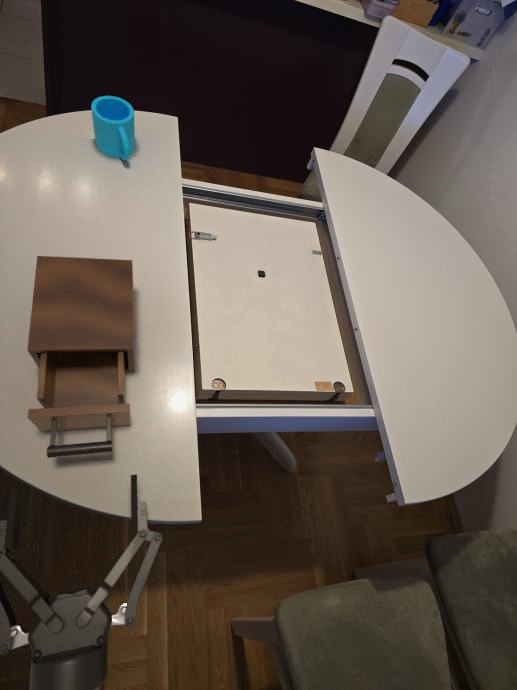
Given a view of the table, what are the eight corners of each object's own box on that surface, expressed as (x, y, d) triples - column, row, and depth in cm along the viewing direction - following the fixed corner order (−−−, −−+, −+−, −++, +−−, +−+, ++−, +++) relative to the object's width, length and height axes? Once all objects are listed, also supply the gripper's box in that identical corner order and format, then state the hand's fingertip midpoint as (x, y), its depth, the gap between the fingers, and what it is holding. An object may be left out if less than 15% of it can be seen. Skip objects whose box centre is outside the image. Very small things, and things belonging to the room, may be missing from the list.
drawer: (131, 457, 59) (129, 447, 52) (38, 466, 55) (23, 457, 49) (130, 340, 67) (128, 319, 60) (48, 341, 63) (37, 318, 56)
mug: (89, 133, 85) (85, 97, 78) (126, 129, 88) (125, 94, 81) (109, 173, 82) (106, 139, 75) (147, 167, 85) (147, 134, 78)
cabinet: (134, 372, 66) (133, 348, 57) (43, 375, 62) (27, 350, 53) (133, 292, 72) (132, 260, 63) (50, 290, 68) (37, 255, 59)
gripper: (-56, 712, 41) (-26, 497, 49) (184, 652, 48) (175, 474, 56) (-94, 748, 34) (-52, 492, 42) (191, 671, 42) (179, 467, 50)
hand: (77, 481), depth 49 cm, fingers open, 13 cm apart
